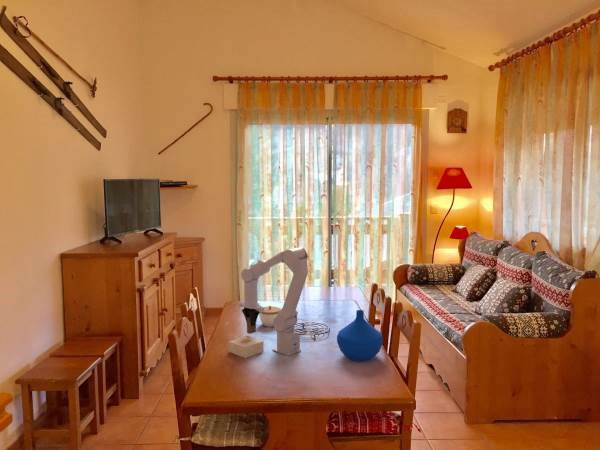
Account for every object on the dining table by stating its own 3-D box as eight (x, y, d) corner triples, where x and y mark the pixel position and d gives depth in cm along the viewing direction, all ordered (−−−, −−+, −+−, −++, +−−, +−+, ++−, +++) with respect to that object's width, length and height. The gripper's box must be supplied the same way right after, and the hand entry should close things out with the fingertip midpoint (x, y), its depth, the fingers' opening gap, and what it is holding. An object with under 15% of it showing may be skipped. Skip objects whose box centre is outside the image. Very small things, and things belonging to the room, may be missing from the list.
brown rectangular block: (256, 331, 209) (255, 316, 208) (250, 333, 206) (249, 318, 206) (252, 330, 210) (252, 315, 210) (247, 332, 208) (246, 317, 207)
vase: (344, 367, 181) (344, 319, 179) (331, 350, 199) (331, 306, 197) (389, 364, 184) (390, 316, 182) (373, 347, 202) (373, 303, 200)
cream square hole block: (263, 351, 198) (263, 340, 197) (245, 358, 190) (245, 347, 190) (247, 345, 204) (247, 335, 204) (229, 352, 197) (229, 341, 197)
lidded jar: (255, 326, 231) (254, 307, 231) (266, 320, 241) (266, 302, 240) (273, 329, 226) (273, 310, 226) (284, 323, 236) (284, 304, 235)
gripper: (269, 295, 205) (269, 326, 206) (246, 290, 214) (247, 319, 216) (256, 298, 199) (257, 330, 201) (234, 293, 209) (235, 323, 211)
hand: (251, 325), depth 208 cm, fingers closed on brown rectangular block, 2 cm apart
